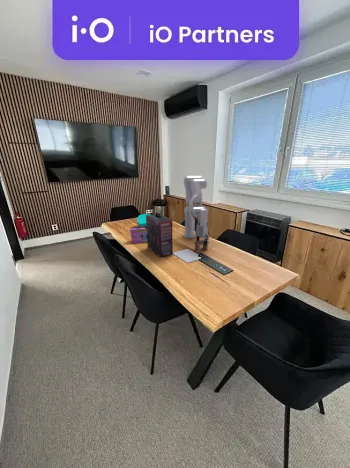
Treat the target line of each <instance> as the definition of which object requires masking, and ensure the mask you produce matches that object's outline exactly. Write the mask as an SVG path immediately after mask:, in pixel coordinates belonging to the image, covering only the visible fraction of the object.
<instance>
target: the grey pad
mask: <svg viewBox="0 0 350 468" xmlns="http://www.w3.org/2000/svg"><path fill="white" fill-rule="evenodd" d="M172 255H174V256H175V257H177V258H179V260H182V261H183V262H185V263H186V264H190V263H193V262H196V261H200V260H202V259H201V257H198V255H199V254H198V253H197V252H194V251H193V250H191V249H188V248H185V249H182V250H178V251H174V252H173V254H172ZM199 259H200V260H199Z"/></svg>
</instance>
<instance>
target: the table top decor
mask: <svg viewBox="0 0 350 468" xmlns="http://www.w3.org/2000/svg"><path fill="white" fill-rule="evenodd" d="M146 215H152V214H150V213H143V214H139V215H138V217H137V218H136V219H137V224H138V225H139V227H143V226H147V225H146Z"/></svg>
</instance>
